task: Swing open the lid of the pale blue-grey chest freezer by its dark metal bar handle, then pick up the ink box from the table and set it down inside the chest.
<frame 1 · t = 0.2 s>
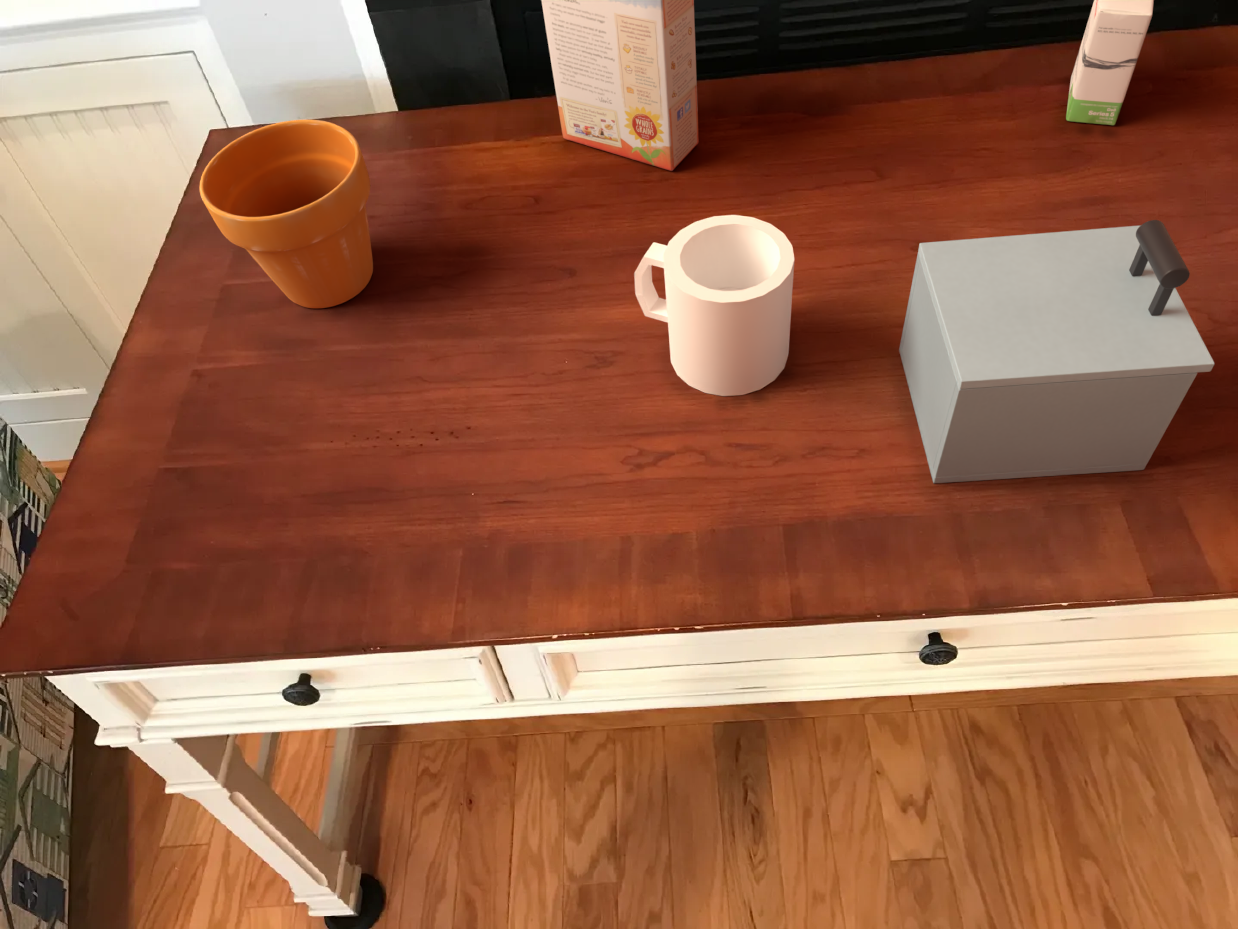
chest: (1013, 406, 79), on the table
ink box: (1091, 102, 102), on the table
flower pot: (328, 279, 96), on the table
mug: (717, 347, 86), on the table
freezer lid: (1063, 279, 68), point 13 cm above the table, hinge at 0.0°
cracker box: (630, 142, 105), on the table
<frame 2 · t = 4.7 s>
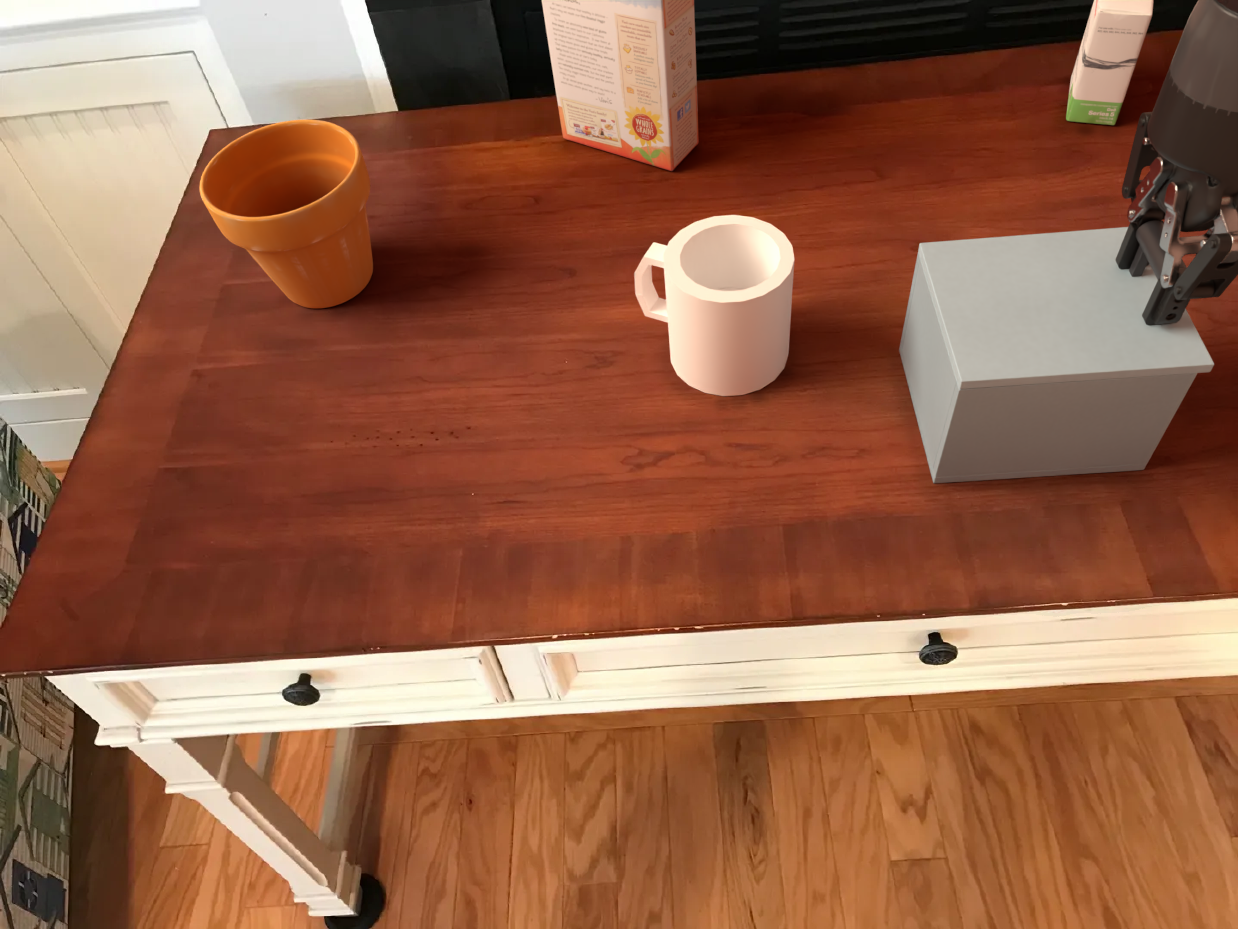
hand: (1144, 291, 69), 12 cm above the table, tool pointing down, fingers closed on freezer lid, 5 cm apart
freezer lid: (1063, 280, 68), point 13 cm above the table, hinge at -0.2°, touching chest, gripper
everything else where it was.
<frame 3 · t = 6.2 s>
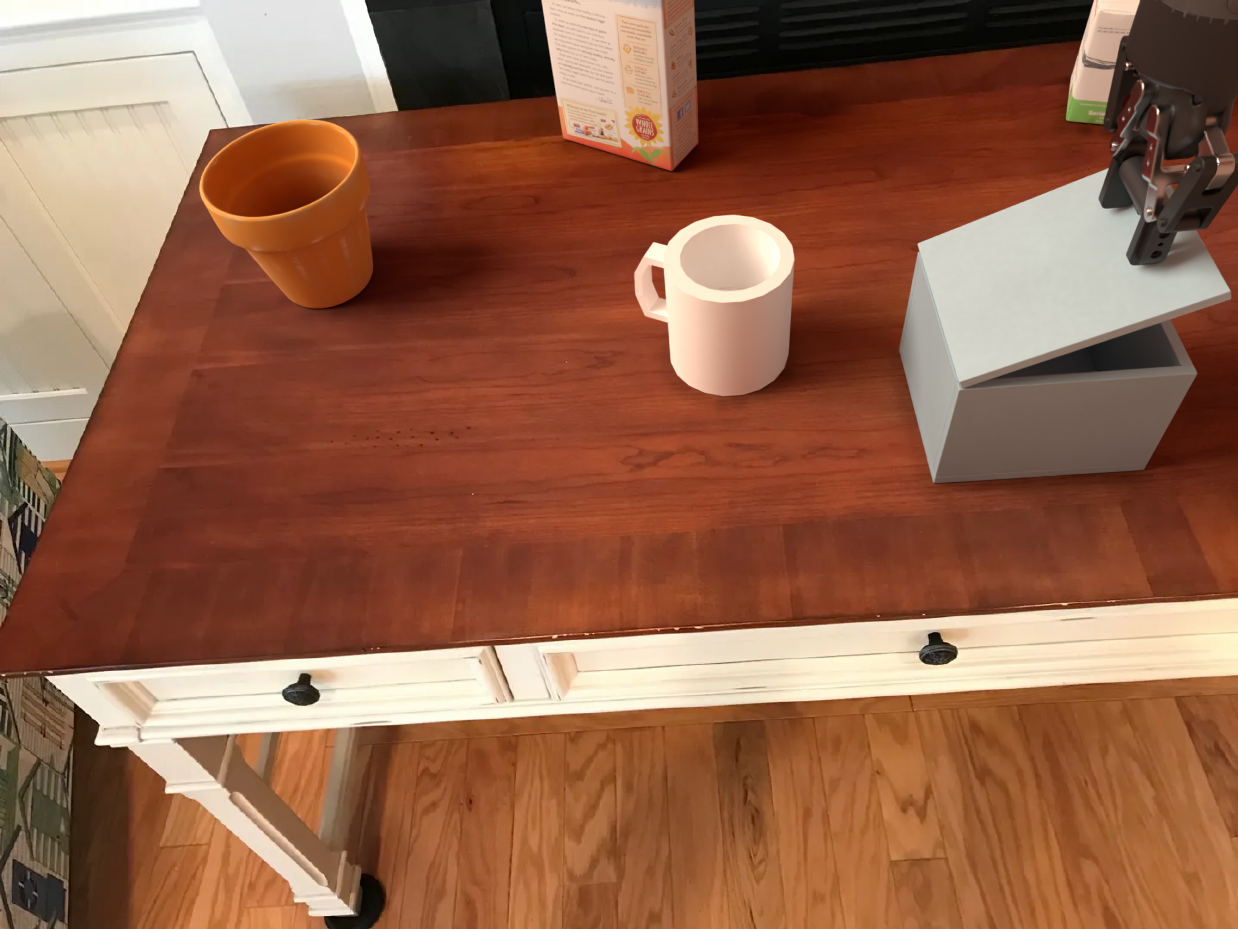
hand: (1129, 230, 65), 17 cm above the table, tool pointing down, fingers closed on freezer lid, 5 cm apart
freezer lid: (1052, 246, 65), point 17 cm above the table, hinge at 23.9°, touching gripper
everything else where it was.
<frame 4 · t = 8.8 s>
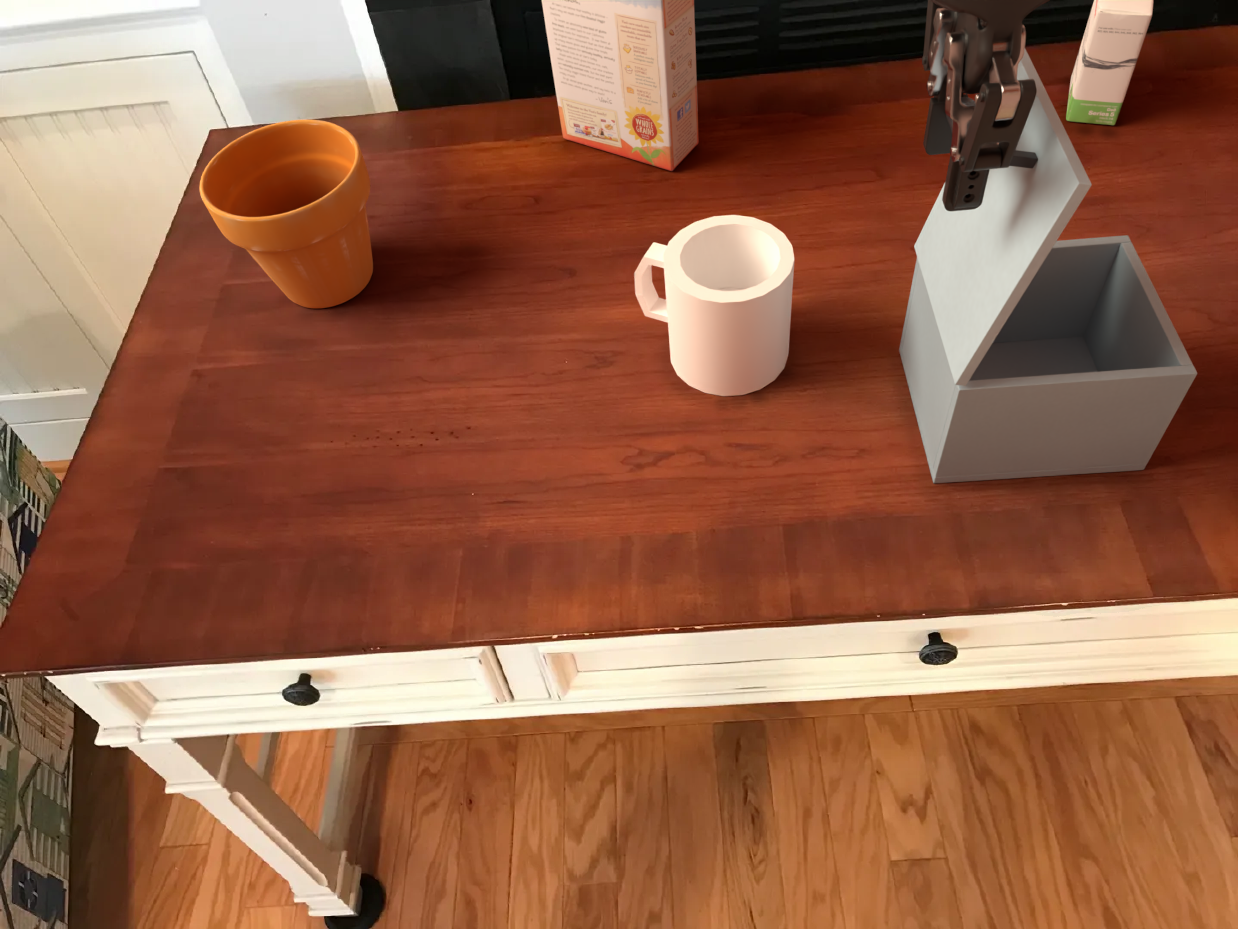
hand: (950, 176, 61), 23 cm above the table, tool pointing down, fingers closed on freezer lid, 5 cm apart
freezer lid: (955, 216, 63), point 20 cm above the table, hinge at 76.7°, touching gripper
everything else where it was.
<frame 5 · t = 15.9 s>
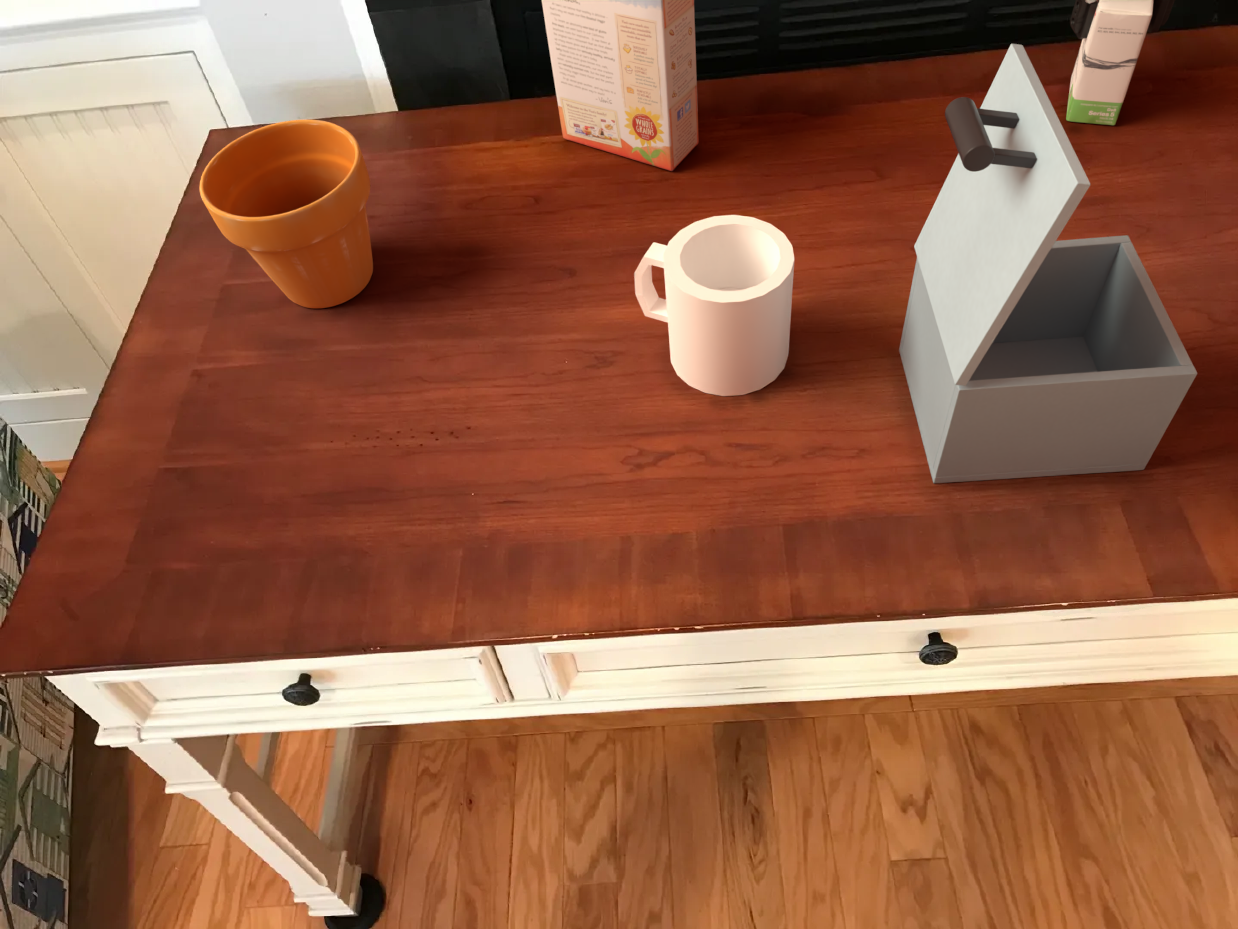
hand: (1115, 30, 96), 8 cm above the table, tool pointing down, fingers closed on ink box, 6 cm apart
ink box: (1091, 102, 102), on the table, touching gripper
freezer lid: (955, 217, 63), point 20 cm above the table, hinge at 76.9°
everything else where it was.
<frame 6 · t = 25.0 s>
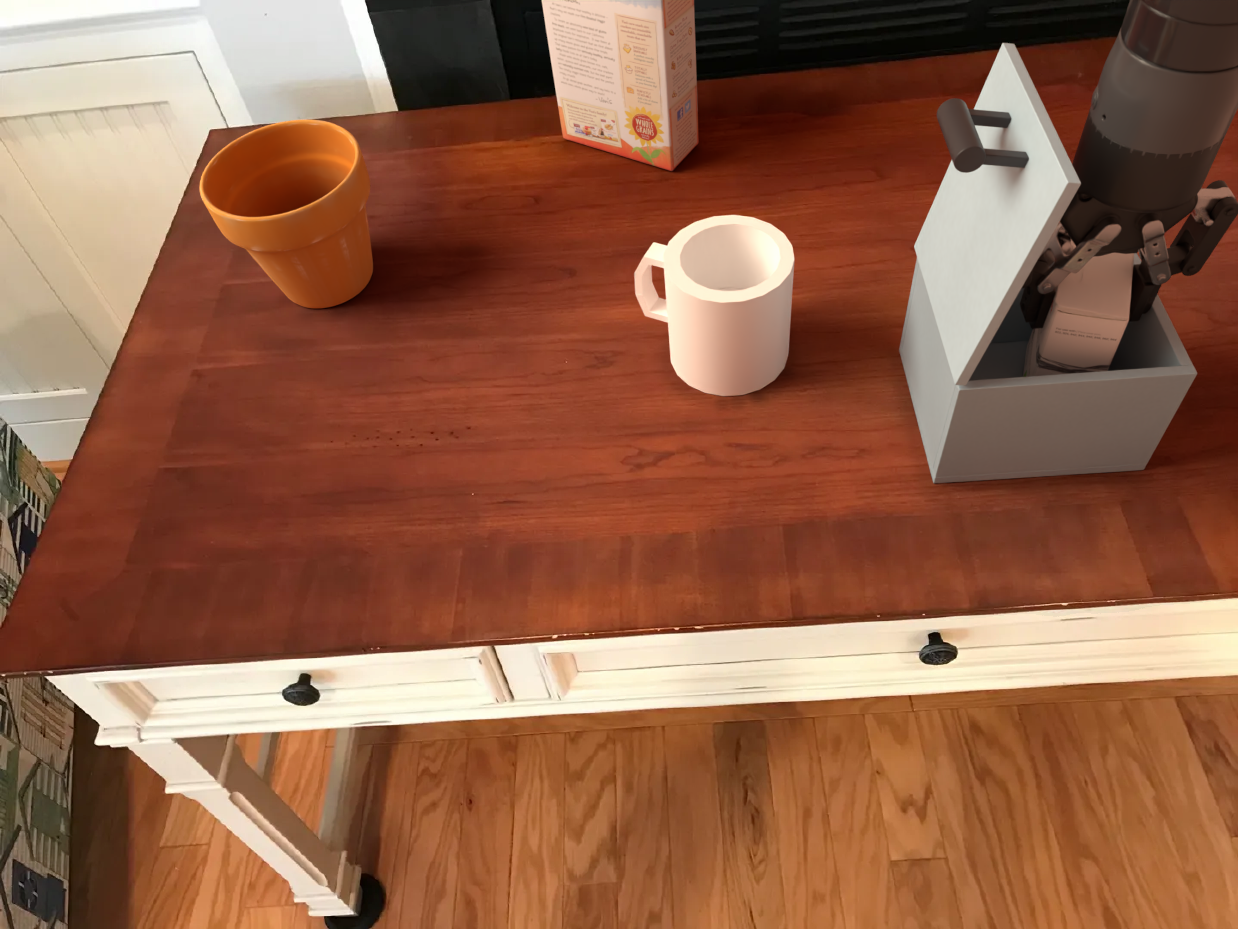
hand: (1080, 316, 71), 10 cm above the table, tool pointing down, fingers closed on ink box, 6 cm apart
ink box: (1052, 388, 77), point 2 cm above the table, touching gripper
freezer lid: (950, 217, 63), point 20 cm above the table, hinge at 78.9°
everything else where it was.
when the fingers open (10 cm above the table, at t = 26.7 s): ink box drops 1 cm, resting on chest.
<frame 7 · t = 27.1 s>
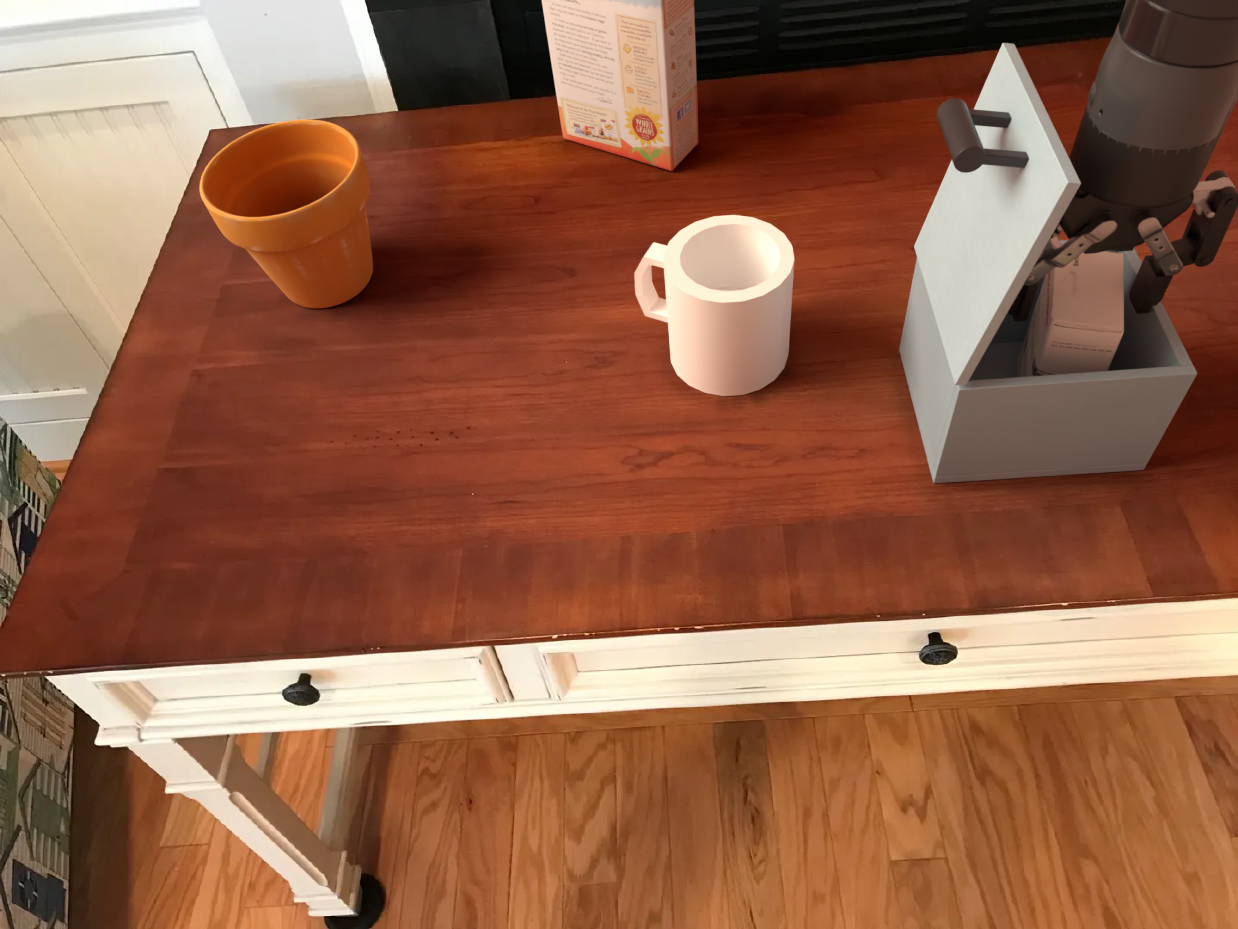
hand: (1077, 309, 70), 10 cm above the table, tool pointing down, fingers open, 8 cm apart
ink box: (1045, 398, 78), point 1 cm above the table, touching chest
everything else where it was.
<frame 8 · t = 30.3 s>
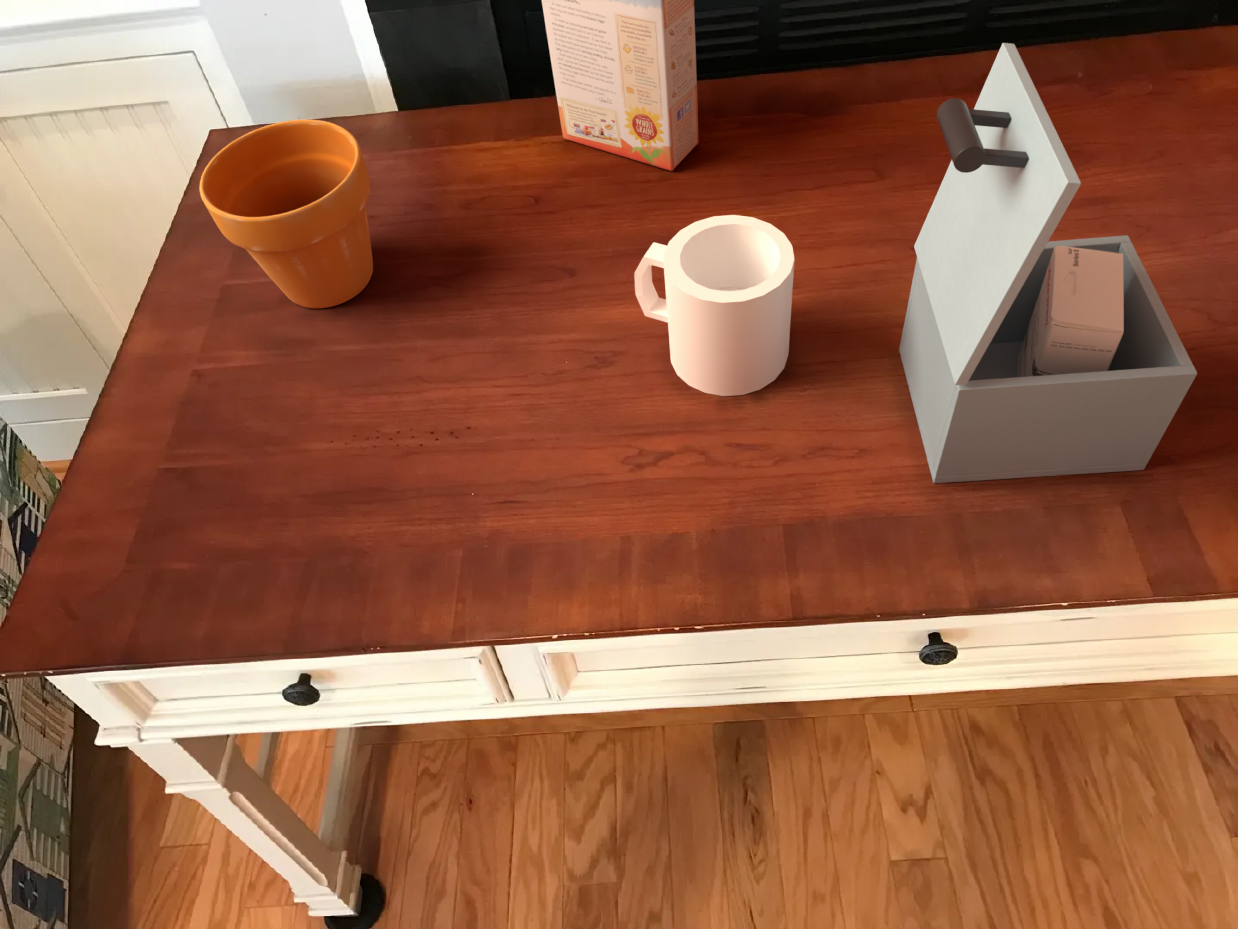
nothing on the table moved.
at the end: freezer lid at +79° (first picture: +0°); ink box inside the target area in the chest (2.4 cm from its centre), point 0.6 cm above the chest's base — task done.
